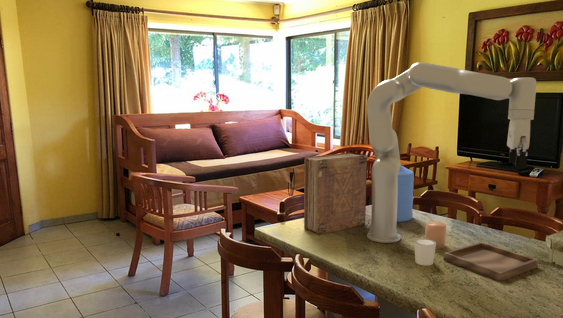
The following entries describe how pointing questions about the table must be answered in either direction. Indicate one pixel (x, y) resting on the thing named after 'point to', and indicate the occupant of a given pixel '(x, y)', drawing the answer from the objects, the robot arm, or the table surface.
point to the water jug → (405, 194)
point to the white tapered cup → (424, 251)
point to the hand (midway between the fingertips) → (517, 165)
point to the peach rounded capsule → (436, 233)
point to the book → (334, 192)
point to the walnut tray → (491, 261)
